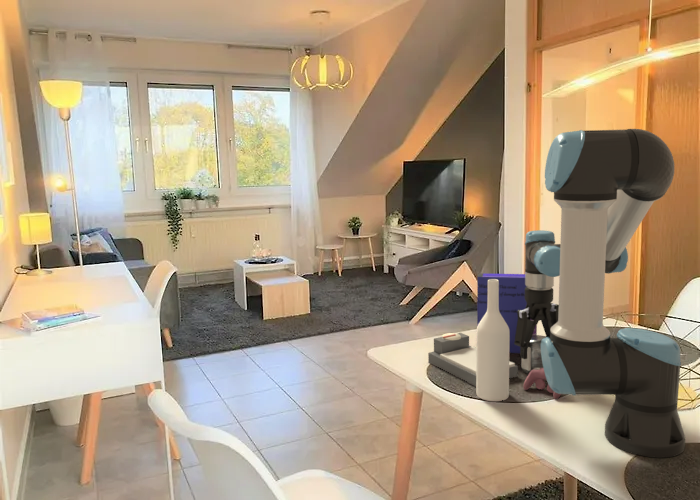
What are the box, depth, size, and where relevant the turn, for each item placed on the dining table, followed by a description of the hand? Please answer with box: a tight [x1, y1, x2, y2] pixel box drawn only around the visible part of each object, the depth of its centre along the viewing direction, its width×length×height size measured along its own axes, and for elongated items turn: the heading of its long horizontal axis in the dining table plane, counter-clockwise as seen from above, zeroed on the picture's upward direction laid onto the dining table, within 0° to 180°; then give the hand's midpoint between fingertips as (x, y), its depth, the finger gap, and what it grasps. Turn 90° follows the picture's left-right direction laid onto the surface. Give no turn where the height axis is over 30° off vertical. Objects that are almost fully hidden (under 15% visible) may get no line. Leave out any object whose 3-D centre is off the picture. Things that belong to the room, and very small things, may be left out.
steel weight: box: [522, 334, 550, 375], centre depth 162 cm, size 8×8×9 cm
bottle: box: [475, 279, 510, 402], centre depth 145 cm, size 8×8×30 cm
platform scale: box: [428, 332, 518, 387], centre depth 165 cm, size 23×14×8 cm, turn 28°
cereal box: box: [476, 273, 538, 355], centre depth 177 cm, size 17×5×24 cm, turn 76°
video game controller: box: [522, 368, 562, 400], centre depth 148 cm, size 10×5×7 cm, turn 43°
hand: (537, 365), depth 162 cm, fingers closed on steel weight, 8 cm apart
